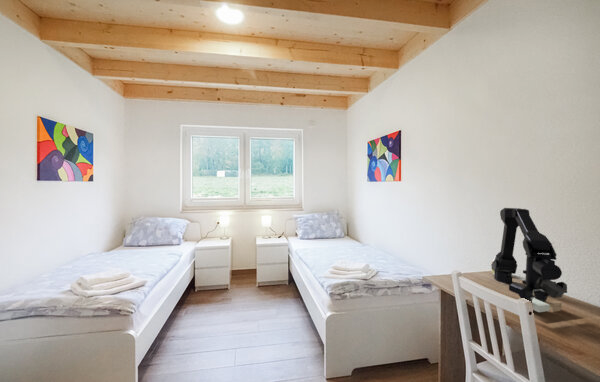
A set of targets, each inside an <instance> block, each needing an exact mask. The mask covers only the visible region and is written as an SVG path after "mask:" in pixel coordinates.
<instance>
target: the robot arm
mask: <svg viewBox="0 0 600 382" xmlns="http://www.w3.org/2000/svg"><path fill="white" fill-rule="evenodd" d="M499 214H500V220H501V221H502V223H503V233H502V238H501V246H500V251H499V252H498V253H497V254H496V255H495V256H496V258H495V260H494V261H493V263H492V262H491V266H490V268H491V271H492V270H494V271H495V274H494V275H493V276H494V280H495V281H497V282H498V283H502V284H507V285H508V291H510V292H512V293H515V294H517V295H518V296H519V299H520V298H525V299H527V300H529V301H531V303H532V299H533V298H535V299H537V300H540V301H542V302H544V303H545V301H546V299H547V298H548V297H549V298H552V299H553V298H554V299H557V298H562V297H563V295H565V294H568V284H567V283H565V282H564V281H558V282H557V280H559V279H560V278H561V276H562V275H563V274H562V273H563V271H562V269H561V268H560V266H558V265H556V261H557V253H556V251H555V249H554V247H553V243H552V242H551V241H550V239H549V238H548V237H547V236H546V235H544V234H543V233H541V232H540V231H539V229H538V228H537V227H536V224H535V223H534V221H533V219H532V217H531V215H530V210H529V209H526V208H517V207H515V208H514V207H504V208H502V209H501V210H500V212H499ZM518 227H519V229H520V231H521V233H522V235H523V237H524V238H523V240H522V247H523V250H524V251H525V253H524V254H525V255H526V260H525V261H526V263H525V270H524V269H523V270H522V273H523V274H525V280H521V283H519V282H515V283H513V275H512V274H514V275H515V274H516V272H517V269H518V264H517V263H518V262H517V259H516V258H515V256H514V249H515V242H516V235H517V229H518ZM555 260H556V261H555ZM555 280H556V281H555ZM533 292H534V295H533Z"/></svg>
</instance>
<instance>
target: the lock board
mask: <svg viewBox="0 0 600 382" xmlns="http://www.w3.org/2000/svg"><path fill="white" fill-rule="evenodd" d="M533 295H534V292H533ZM545 303H547V304H549V305H550V310H549V311H548V312H552V313H555V312H561V311H562V302H560V301H558V300H555V298H554V299H553V298H552V297H550V296H549V297H548V298H547V299H546V301H545Z"/></svg>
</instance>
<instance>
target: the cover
mask: <svg viewBox="0 0 600 382" xmlns="http://www.w3.org/2000/svg"><path fill="white" fill-rule="evenodd" d="M532 306H533V309H532V310H533V311H535V312H537V313H544V312H550V311H549V310H550V305H549V304H547V303H544V302H542V301H540V300H537V299H535V298H533V299H532Z"/></svg>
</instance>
